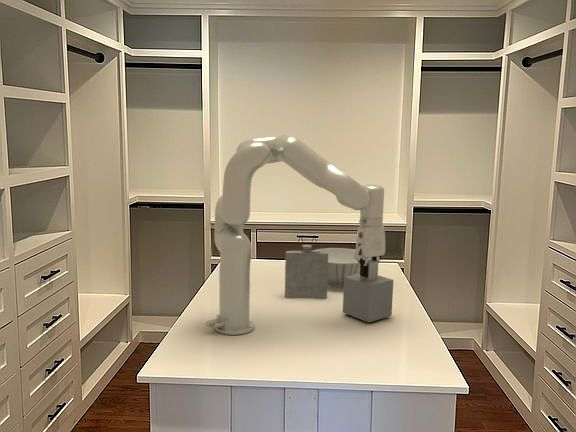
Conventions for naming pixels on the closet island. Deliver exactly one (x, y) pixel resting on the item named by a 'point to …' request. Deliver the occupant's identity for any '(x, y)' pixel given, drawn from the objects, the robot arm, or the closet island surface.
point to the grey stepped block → (368, 295)
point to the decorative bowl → (340, 265)
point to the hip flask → (306, 273)
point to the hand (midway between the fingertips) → (368, 274)
